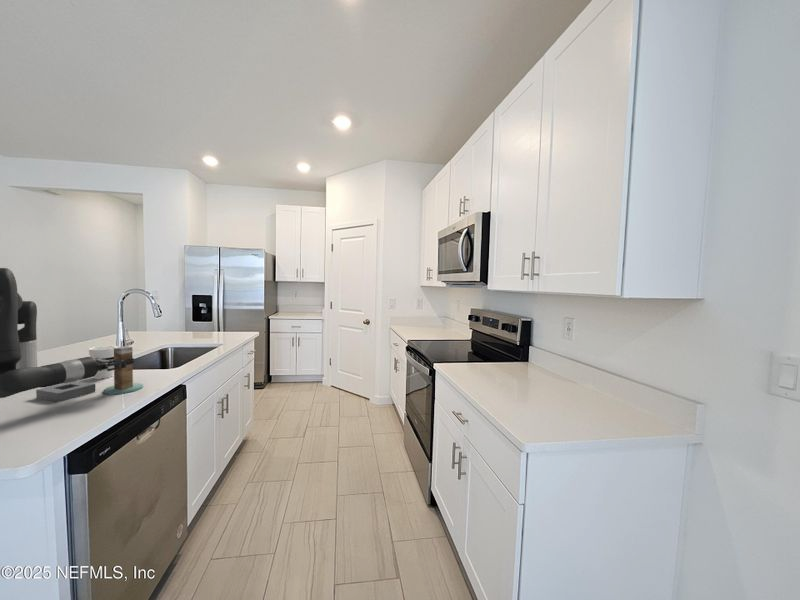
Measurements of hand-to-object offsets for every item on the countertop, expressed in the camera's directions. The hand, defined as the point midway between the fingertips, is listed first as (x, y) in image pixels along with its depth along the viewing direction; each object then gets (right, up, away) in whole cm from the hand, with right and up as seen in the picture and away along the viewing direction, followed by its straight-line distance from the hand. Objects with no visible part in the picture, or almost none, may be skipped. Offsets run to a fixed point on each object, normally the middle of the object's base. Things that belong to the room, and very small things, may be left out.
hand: (125, 359), depth 128 cm
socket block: (-15, -12, -8) cm, 21 cm away
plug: (0, -11, 0) cm, 11 cm away
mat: (0, -12, 0) cm, 12 cm away
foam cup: (-22, -10, +15) cm, 28 cm away
